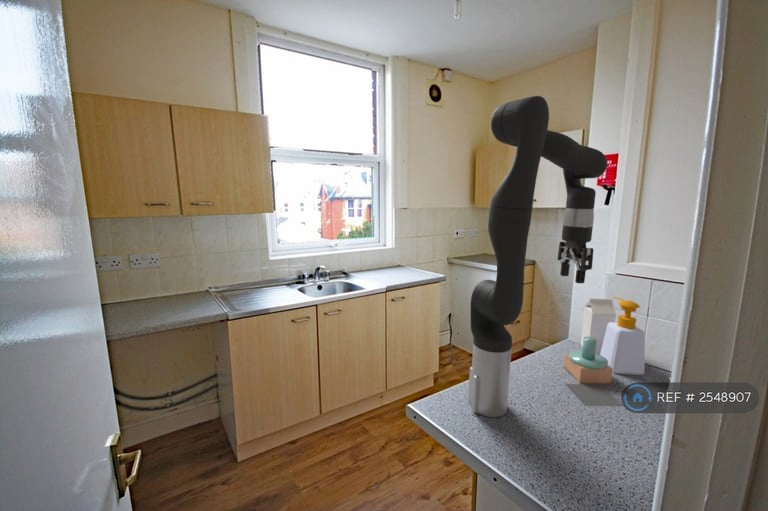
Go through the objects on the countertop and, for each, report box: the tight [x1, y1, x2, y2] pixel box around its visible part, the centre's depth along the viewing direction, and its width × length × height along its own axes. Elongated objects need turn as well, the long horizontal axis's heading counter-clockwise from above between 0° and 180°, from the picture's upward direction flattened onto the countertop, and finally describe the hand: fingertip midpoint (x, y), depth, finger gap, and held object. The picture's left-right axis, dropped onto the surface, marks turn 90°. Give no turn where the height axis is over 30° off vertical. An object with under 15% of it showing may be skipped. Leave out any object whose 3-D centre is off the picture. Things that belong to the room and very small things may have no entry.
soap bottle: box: [600, 296, 646, 376], centre depth 108 cm, size 10×14×22 cm
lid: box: [568, 337, 608, 369], centre depth 101 cm, size 10×10×7 cm
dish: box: [563, 353, 613, 384], centre depth 102 cm, size 9×9×5 cm
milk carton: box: [580, 298, 617, 355], centre depth 118 cm, size 7×7×19 cm
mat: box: [564, 383, 624, 407], centre depth 93 cm, size 10×10×1 cm
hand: (571, 279), depth 100 cm, fingers open, 8 cm apart
